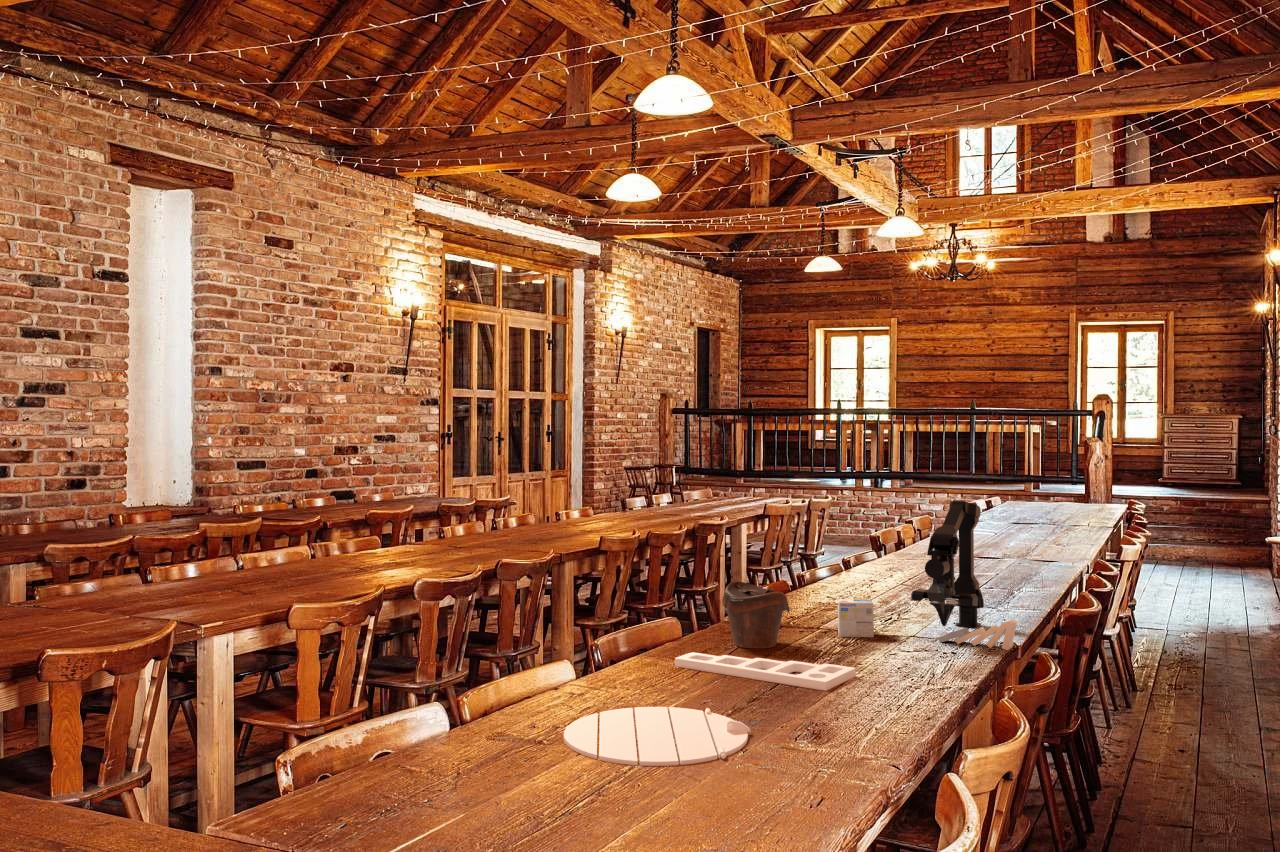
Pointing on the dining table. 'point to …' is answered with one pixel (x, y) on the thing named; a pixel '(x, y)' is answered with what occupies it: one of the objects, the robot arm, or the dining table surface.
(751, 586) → the rusty bucket
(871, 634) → the light bulb box
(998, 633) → the domino
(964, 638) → the domino
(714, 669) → the holder
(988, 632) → the domino
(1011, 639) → the domino
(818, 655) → the dining table surface
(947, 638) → the domino
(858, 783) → the dining table surface
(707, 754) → the white grooved round board
